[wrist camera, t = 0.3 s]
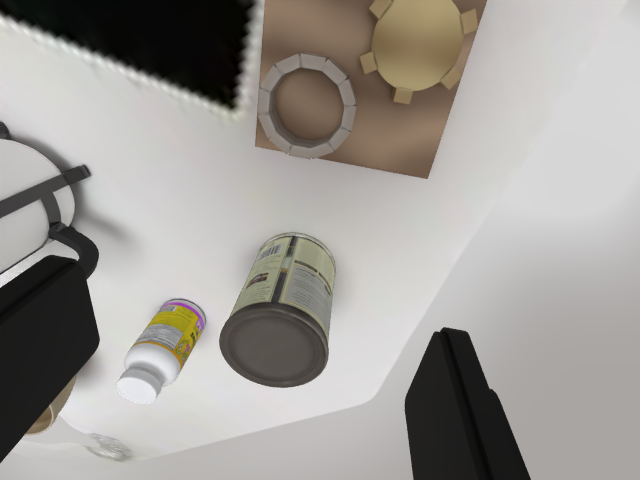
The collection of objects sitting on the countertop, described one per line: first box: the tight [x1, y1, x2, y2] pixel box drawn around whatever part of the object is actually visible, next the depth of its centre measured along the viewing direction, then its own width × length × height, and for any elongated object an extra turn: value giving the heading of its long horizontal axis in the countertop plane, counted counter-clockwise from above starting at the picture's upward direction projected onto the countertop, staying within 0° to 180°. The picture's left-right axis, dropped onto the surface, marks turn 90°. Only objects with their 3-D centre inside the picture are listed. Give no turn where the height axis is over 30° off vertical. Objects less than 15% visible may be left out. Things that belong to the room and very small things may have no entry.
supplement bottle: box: [116, 300, 205, 404], centre depth 45 cm, size 7×7×13 cm
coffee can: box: [219, 233, 335, 388], centre depth 39 cm, size 10×10×14 cm
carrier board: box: [255, 0, 487, 179], centre depth 31 cm, size 16×18×4 cm
